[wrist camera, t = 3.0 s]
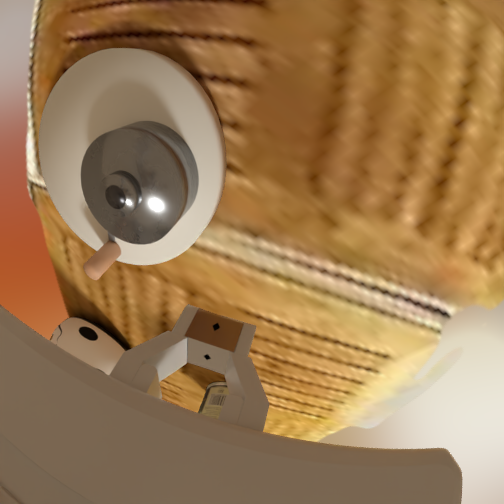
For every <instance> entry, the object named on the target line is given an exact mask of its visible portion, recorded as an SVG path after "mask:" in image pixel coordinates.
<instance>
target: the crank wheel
mask: <svg viewBox="0 0 504 504" xmlns="http://www.w3.org/2000/svg"><path fill="white" fill-rule="evenodd" d="M138 121H154V122H158V123H161V124H164V125H166V126H168V127H170V128H171V129H173V130H174V131H175V132H177V133H178V134H179V135H180V136H181V137H182V138H183V139H184V141H185V142H186V143H187V145H188V146H189V148H190V149H191V151H192V153H193V155H194V158H195V161H196V164H197V168H198V175H199V186H198V192H197V195H196V199H195V201H194V203H193V205H192V206H191V208H190V209H189V210H188V211H187V212H186V214H185V215H184V216H183V217H182V218H181V219H180V220H179V221H178V222H177V223H176V225H175V226H174V227H173V228H172V229H171V230H170V231H169V232H168V233H167V234H166V236H164V237H163V238H162V239H160V240H158V241H156V242H154V243H151V244H145V245H138V244H132V243H128V242H125V241H122V240H120V239H118V238H116V237H115V236H113V235H112V234H110V233H109V232H108V231H107V230H105V229H104V228H103V227H102V226H101V225H100V224H99V222H98V221H97V220H96V219H95V217H94V216H93V214H92V213H91V211H90V209H89V207H88V205H87V203H86V201H85V198H84V195H83V191H82V186H81V165H82V161H83V157H84V155H85V152H86V150H87V149H88V147H89V146H90V144H91V143H92V142H93V141H94V140H95V139H96V138H98V137H99V136H100V135H102V134H104V133H107V132H109V131H112V130H115V129H117V128H120V127H123V126H126V125H129V124H132V123H135V122H138ZM39 157H40V164H41V170H42V174H43V178H44V181H45V184H46V187H47V190H48V192H49V195H50V197H51V199H52V201H53V203H54V205H55V207H56V208H57V210H58V212H59V213H60V215H61V216H62V218H63V219H64V221H65V222H66V223H67V224H68V226H69V227H70V228H71V229H72V230H73V231H74V232H75V233H76V234H77V235H78V237H80V238H81V239H82V240H83V241H84V242H85V243H87V244H88V245H89V246H91V247H92V248H93V249H95V250H96V251H97V252H96V253H95V254H94V255H93V256H92V257H91V258H90V259H89V260H88V261H87V262H86V263H85V264H84V270H85V272H86V274H87V275H88V276H89V277H90V278H92V279H94V280H98V279H99V278H100V277H101V275H102V274H103V273H104V272H105V271H106V270H107V269H108V268H109V267H110V266H111V265H112V263H113V262H114V261H115V260H117V261H121V262H124V263H129V264H134V265H151V264H158V263H162V262H166V261H168V260H170V259H173V258H175V257H177V256H178V255H180V254H181V253H183V252H184V251H186V250H187V249H188V248H189V247H190V246H191V245H192V244H193V243H194V242H195V241H196V240H197V238H198V237H199V236H200V234H201V233H202V232H203V230H204V229H205V228H206V226H207V225H208V224H209V222H210V221H211V219H212V217H213V215H214V214H215V212H216V210H217V208H218V205H219V202H220V200H221V197H222V193H223V189H224V184H225V178H226V166H227V164H226V147H225V141H224V136H223V131H222V128H221V124H220V121H219V118H218V115H217V113H216V111H215V109H214V106H213V104H212V102H211V100H210V98H209V97H208V95H207V94H206V92H205V91H204V89H203V88H202V86H201V85H200V84H199V83H198V81H197V80H196V79H195V78H194V77H193V76H192V75H191V73H189V72H188V71H187V70H186V69H185V68H183V67H182V66H181V65H180V64H178V63H177V62H175V61H173V60H172V59H170V58H168V57H167V56H164V55H162V54H159V53H156V52H154V51H149V50H144V49H137V48H111V49H105V50H101V51H98V52H95V53H92V54H90V55H88V56H86V57H84V58H82V59H81V60H79V61H77V62H76V63H75V64H74V65H72V66H71V67H70V68H69V69H68V70H67V71H66V72H65V73H64V74H63V75H62V76H61V77H60V79H59V80H58V82H57V83H56V85H55V86H54V88H53V89H52V91H51V93H50V95H49V97H48V99H47V102H46V105H45V107H44V110H43V114H42V118H41V123H40V130H39Z"/></svg>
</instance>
